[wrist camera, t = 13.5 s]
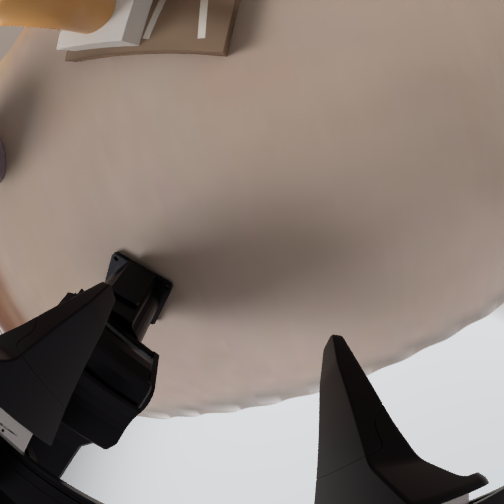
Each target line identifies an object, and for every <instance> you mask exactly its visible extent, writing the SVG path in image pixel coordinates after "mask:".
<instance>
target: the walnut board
mask: <svg viewBox="0 0 504 504" xmlns="http://www.w3.org/2000/svg"><path fill="white" fill-rule="evenodd" d="M239 3H240V0H153V1H152V4H151V7H150V10H149V13H148V16H147V20H146V23H145V26H144V30H143V33H142V37H141V41H140V44H139V46H122V47H107V48H96V49H88V50H80V51H69V50H67V53H66V59H65V61H73V62H77V61H83V60H89V59H96V58H103V57H112V56H122V55H135V54H159V53H178V54H203V55H217V56H227V54H228V49H229V45H230V40H231V36H232V31H233V27H234V23H235V19H236V15H237V11H238V7H239Z"/></svg>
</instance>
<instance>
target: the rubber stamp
mask: <svg viewBox="0 0 504 504" xmlns="http://www.w3.org/2000/svg"><path fill="white" fill-rule="evenodd" d="M152 1H153V0H0V26H26V27H39V28H49V29H57V30H61V32H60V35H59V39H58V43H57V48H56V50H69V51H80V50H88V49H96V48H107V47H122V46H139V44H140V41H141V37H142V33H143V30H144V26H145V23H146V20H147V16H148V13H149V10H150V7H151V4H152Z"/></svg>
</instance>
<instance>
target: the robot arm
mask: <svg viewBox="0 0 504 504" xmlns="http://www.w3.org/2000/svg"><path fill="white" fill-rule="evenodd" d="M116 257H117V258H118V259H117V258H116ZM166 285H167V286H168V287H167V286H166ZM172 288H173V284H172V283H171V282H170V281H168V280H166V279H164V278H163V277H161V276H159V275H157V274H155V273H154V272H152V271H150V270H148V269H146V268H145V267H143V266H141V265H139V264H138V263H136V262H134V261H132V260H131V259H129V258H127V257H126V256H124V255H122V254H121V253H119V252H115V253H114V254H113V255H112V257H111V261H110V265H109V269H108V273H107V277H106V281H105V282H101V283H99V284H97V285H95V286H93V287H92V288H90V289H88V290H86V291H84V290H83V289H81V290H80V291H79V293H78V294H76V293H75V294H73V293H69V292H68V293H67V295H66V296H65V297H64V298H63V299H62V301H61V302H60V303H59V304H58V305H57V306H56V307H54V308H52V309H50V310H48V311H47V312H45V313H43V314H41V315H39V317H36V318H34V319H32V320H30V321H28V322H27V323H25V324H23V325H21V326H19V327H17V328H14V329H12V330H10V331H8V332H6V333H4V334H1V335H0V504H103V503H101V502H99V501H97V500H95V499H93V498H92V497H90V496H88V495H86V494H84V493H83V492H81V491H79V490H77V489H75V488H74V487H72V486H71V485H69V484H67V483H66V482H64V481H63V480H61V479H60V477H61V476H62V474H63V473H64V471H65V470H66V468H67V467H68V465H69V464H70V462H71V461H72V459H73V457H74V456H75V454H76V453H77V452H78V450H79V449H80V447H81V446H84V445H88V444H91V443H94V444H96V445H98V446H100V447H102V448H103V449H108V448H110V447H112V446H113V445H115V444H117V442H118V440H119V439H120V437H121V435H122V434H123V432H124V430H125V429H126V427H127V426H128V425H129V423H130V422H131V421H132V419H134V418H135V417H136V416H137V415H138V414H139V413H141V412H142V411H143V410H144V409H145V408H146V406H147V405H148V403H149V402H150V400H151V398H152V396H153V393H154V389H155V383H156V375H157V367H158V360H159V355H158V354H157V353H156V352H153V351H151V350H150V349H149V348H147V347H146V346H145V345H144V344H142V343H141V341H142V339H143V337H144V335H145V333H146V331H147V329H148V327H149V325H150V324H155V322H156V320H157V318H158V316H159V314H160V312H161V310H162V308H163V306H164V304H165V302H166V300H167V298H168V296H169V294H170V292H171V290H172ZM319 414H320V415H319V446H318V448H319V449H318V467H317V481H316V493H315V504H504V486H503V487H501V488H499V489H496V490H494V491H492V492H490V493H488V494H485V495H483V496H480V497H478V498H476V499H473V500H470V501H469V494H468V493H470V492H472V491H474V490H476V489H478V488H481V487H483V486H485V485H487V484H488V483H489V482H488V480H487V479H486V478H485V477H484V476H483V475H481V474H479V473H475V474H472V475H470V476H459V475H456V474H453V473H451V472H449V471H446V470H444V469H442V468H439V467H437V466H435V465H433V464H430V463H428V462H426V461H424V460H423V459H421V458H420V457H419V456H418V455H417V454H416V453H415V452H414V451H413V449H412V448H411V447H410V445H409V444H408V442H407V441H406V440H405V438H404V437H403V435H402V434H401V433H400V431H399V430H398V428H397V427H396V425H395V424H394V423H393V421H392V419H391V418H390V416H389V414H388V413H387V411H386V409H385V407H384V406H383V405H382V402H381V401H380V399H379V397H378V395H377V394H376V392H375V390H374V388H373V387H372V385H371V383H370V382H369V380H368V378H367V377H366V375H365V373H364V371H363V370H362V368H361V366H360V365H359V363H358V361H357V360H356V358H355V356H354V355H353V353H352V351H351V350H350V348H349V346H348V345H347V343H346V342H345V340H344V338H343V337H342V336H339V335H332V336H331V337H330V339H329V340H328V342H327V344H326V346H325V348H324V352H323V362H322V371H321V380H320V411H319Z"/></svg>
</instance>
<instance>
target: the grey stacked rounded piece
mask: <svg viewBox="0 0 504 504" xmlns="http://www.w3.org/2000/svg"><path fill="white" fill-rule="evenodd" d="M5 170H6V157H5V151H4V147H3V144H2V142H1V140H0V183H1V181H2V180H3V178H4V175H5Z"/></svg>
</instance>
